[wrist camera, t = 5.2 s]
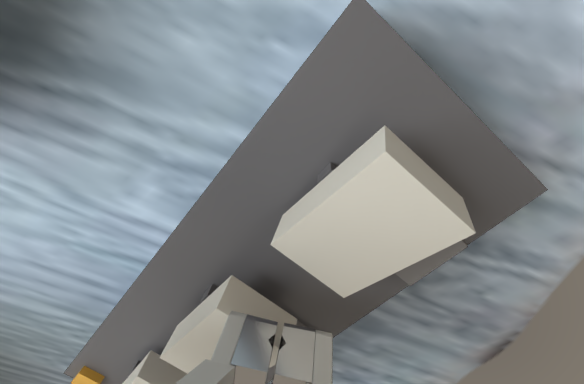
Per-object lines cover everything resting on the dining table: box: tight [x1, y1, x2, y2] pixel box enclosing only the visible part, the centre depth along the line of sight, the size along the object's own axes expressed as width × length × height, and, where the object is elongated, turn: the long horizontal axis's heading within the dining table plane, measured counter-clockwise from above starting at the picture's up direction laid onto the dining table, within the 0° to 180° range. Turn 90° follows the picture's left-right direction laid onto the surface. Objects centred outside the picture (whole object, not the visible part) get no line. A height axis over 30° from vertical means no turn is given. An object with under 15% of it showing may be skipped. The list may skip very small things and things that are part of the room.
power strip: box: [64, 0, 548, 384], centre depth 15 cm, size 27×8×5 cm, turn 140°
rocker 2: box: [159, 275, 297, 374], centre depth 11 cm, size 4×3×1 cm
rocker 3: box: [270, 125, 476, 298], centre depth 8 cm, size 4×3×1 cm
